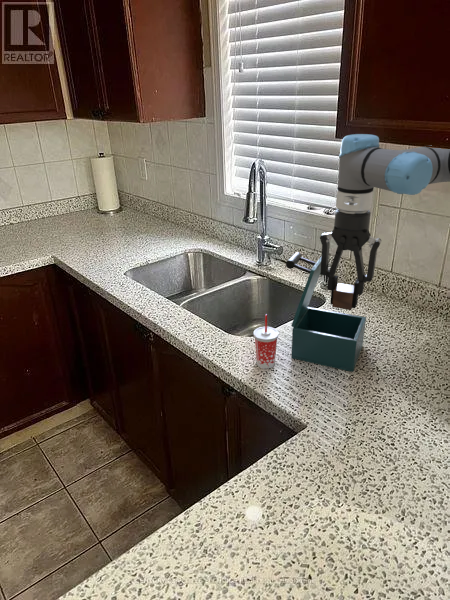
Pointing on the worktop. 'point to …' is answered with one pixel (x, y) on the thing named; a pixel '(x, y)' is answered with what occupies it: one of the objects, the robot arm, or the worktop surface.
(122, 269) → the worktop surface
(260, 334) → the beverage cup
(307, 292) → the lid
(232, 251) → the worktop surface
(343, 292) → the block
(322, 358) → the teal hinged box
